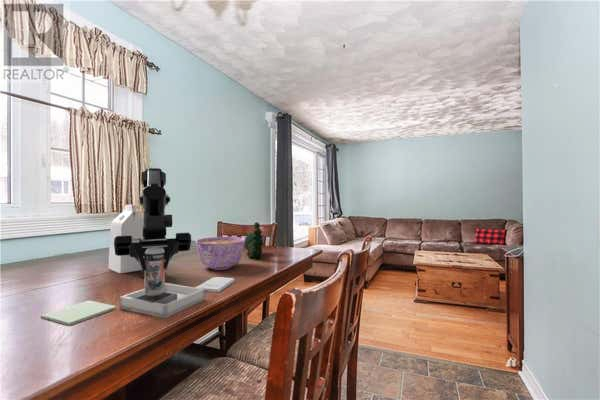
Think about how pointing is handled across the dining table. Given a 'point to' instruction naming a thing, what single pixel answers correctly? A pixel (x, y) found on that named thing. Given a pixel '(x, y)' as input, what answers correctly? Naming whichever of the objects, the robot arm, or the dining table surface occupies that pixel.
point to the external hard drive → (216, 284)
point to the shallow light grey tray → (162, 300)
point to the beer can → (154, 271)
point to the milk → (125, 225)
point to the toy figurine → (254, 243)
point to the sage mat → (78, 312)
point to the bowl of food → (220, 251)
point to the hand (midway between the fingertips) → (154, 269)
